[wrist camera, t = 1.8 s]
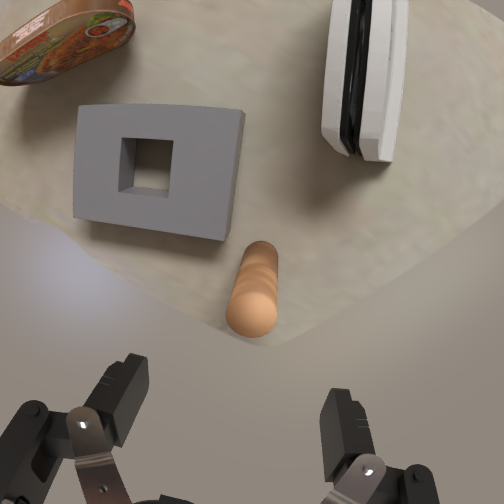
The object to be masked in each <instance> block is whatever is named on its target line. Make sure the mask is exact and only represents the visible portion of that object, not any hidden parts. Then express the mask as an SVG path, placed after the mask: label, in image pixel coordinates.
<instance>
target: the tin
mask: <svg viewBox="0 0 504 504" xmlns="http://www.w3.org/2000/svg"><path fill="white" fill-rule="evenodd" d="M135 29H136V25H135V22H134V10H133V6H132V4H131V2H130V1H129V0H62V1H60V2H58V3H57V4H55V5H53V6H52V7H50V8H48V9H47V10H45V11H44V12H42V13H41V14H39V15H37V16H36V17H34V18H33V19H31V20H30V21H29V22H27V23H26V24H24V25H23V26H21V27H20V28H19V29H17V30H16V31H15V32H13V33H12V34H11V35H9V36H8V37H7V38H5V39H4V40H3V41H2V42H1V43H0V85H3V86H22V85H29V84H34V83H38V82H42V81H45V80H47V79H50V78H52V77H54V76H56V75H58V74H60V73H62V72H64V71H66V70H68V69H70V68H72V67H74V66H76V65H78V64H80V63H83V62H85V61H87V60H89V59H91V58H94V57H96V56H98V55H101V54H103V53H105V52H108V51H110V50H112V49H115V48H117V47H119V46H121V45H122V44H124V43H125V42H127V41H128V40H129V39H130V38H131V37H132V36H133V34H134V32H135Z"/></svg>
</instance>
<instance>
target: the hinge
mask: <svg viewBox="0 0 504 504" xmlns="http://www.w3.org/2000/svg"><path fill="white" fill-rule="evenodd" d="M408 7H409V0H333V3H332V11H331V19H330V28H329V37H328V47H327V58H326V68H325V80H324V93H323V108H322V122H321V132H322V136H323V137H324V138H325V139H326V140H327V141H328V143H329V144H330V145H331V146H332V147H333V148H334V150H335V151H337V152H339V153H341V154H343V155H345V156H348V157H349V156H350V154H355V148H357V150H358V153H359V155H360V156H363V158H364V160H365V161H379V162H392V160H393V155H394V149H395V143H396V137H397V131H398V124H399V117H400V110H401V102H402V94H403V85H404V75H405V64H406V52H407V36H408ZM361 50H362V54H361ZM360 59H361V65H360ZM359 68H360V76H359ZM358 76H359V77H358Z"/></svg>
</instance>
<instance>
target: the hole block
mask: <svg viewBox="0 0 504 504" xmlns="http://www.w3.org/2000/svg"><path fill="white" fill-rule="evenodd" d="M244 121H245V113H244V112H243V111H242V110H235V109H226V108H215V107H203V106H188V105H167V104H97V105H79V108H78V116H77V126H76V138H75V153H74V175H73V218H78V219H85V220H91V221H98V222H105V223H111V224H118V225H124V226H131V227H137V228H144V229H150V230H157V231H163V232H169V233H176V234H182V235H189V236H195V237H201V238H208V239H214V240H220V241H224V240H225V238H226V237H227V235H228V233H229V231H230V225H231V217H232V210H233V202H234V194H235V186H236V179H237V171H238V164H239V157H240V149H241V142H242V135H243V128H244ZM137 138H146V139H162V140H174V143H173V152H172V161H171V172H170V183H169V191H168V190H159V189H151V188H142V187H133V183H134V168H135V155H136V144H137Z"/></svg>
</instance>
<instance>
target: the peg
mask: <svg viewBox="0 0 504 504" xmlns="http://www.w3.org/2000/svg"><path fill="white" fill-rule="evenodd" d="M277 285H278V253H277V251H276V249H275V248H274V246H272V245H271V244H270V243H268V242H264V241H257V242H254V243H252V244H250V245H249V246H248V247H247V248H246V250H245V253H244V256H243V259H242V262H241V266H240V269H239V272H238V275H237V278H236V282H235V285H234V288H233V291H232V295H231V298H230V301H229V304H228V308H227V311H226V319H227V322H228V324H229V326H230V327H231V329H232V330H233V331H235V332H236V333H238V334H239V335H242V336H245V337H250V338H255V337H261V336H263V335H265V334H267V333H269V332H270V331H271V330H272V329H273V327H274V326H275V323H276V319H277Z"/></svg>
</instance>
